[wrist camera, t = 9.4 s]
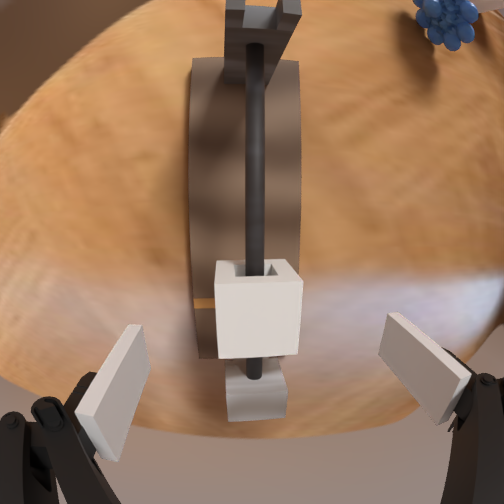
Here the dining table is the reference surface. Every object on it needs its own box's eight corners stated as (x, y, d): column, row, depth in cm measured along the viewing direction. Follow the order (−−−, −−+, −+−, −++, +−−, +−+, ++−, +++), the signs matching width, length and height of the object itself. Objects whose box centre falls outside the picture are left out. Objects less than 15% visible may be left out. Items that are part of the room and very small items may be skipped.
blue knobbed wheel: (377, -8, 20) (421, -50, 9) (409, -5, 20) (452, -38, 9) (421, 59, 23) (482, 30, 11) (448, 58, 23) (504, 36, 11)
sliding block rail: (194, 64, 22) (174, -21, 9) (294, 67, 23) (346, -8, 10) (200, 350, 29) (190, 447, 16) (289, 346, 30) (326, 435, 17)
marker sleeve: (216, 260, 20) (214, 284, 15) (284, 258, 20) (303, 281, 16) (219, 322, 21) (218, 358, 16) (282, 319, 22) (297, 354, 17)
